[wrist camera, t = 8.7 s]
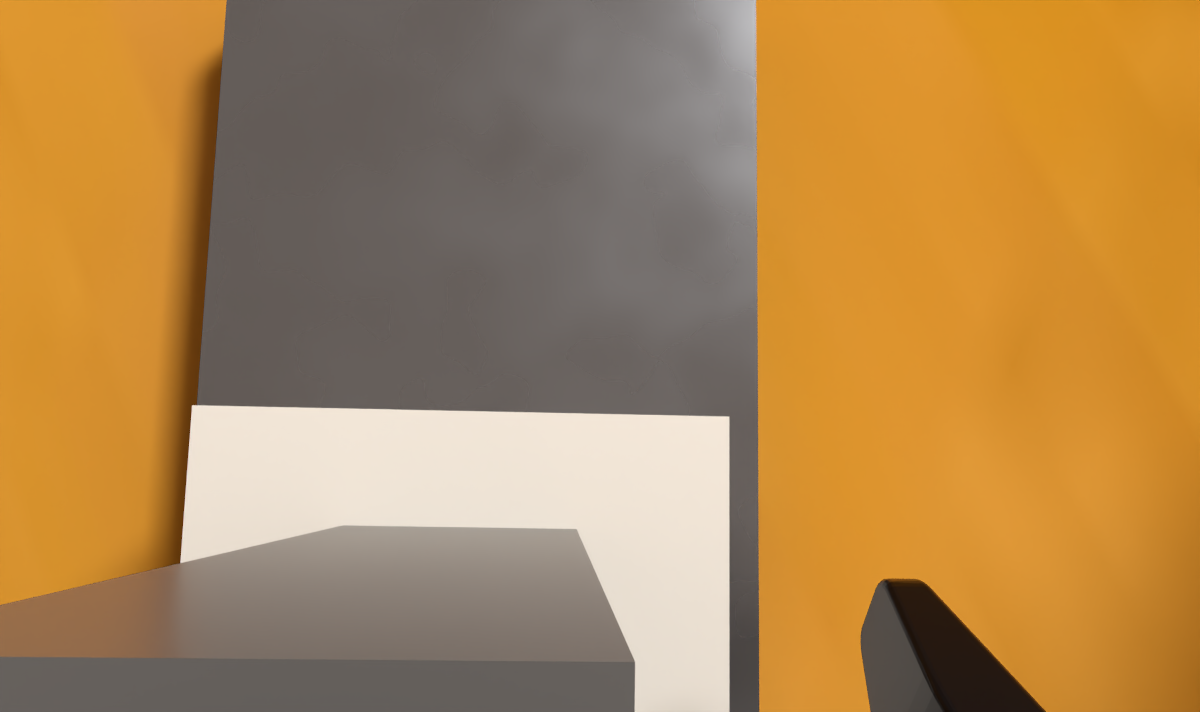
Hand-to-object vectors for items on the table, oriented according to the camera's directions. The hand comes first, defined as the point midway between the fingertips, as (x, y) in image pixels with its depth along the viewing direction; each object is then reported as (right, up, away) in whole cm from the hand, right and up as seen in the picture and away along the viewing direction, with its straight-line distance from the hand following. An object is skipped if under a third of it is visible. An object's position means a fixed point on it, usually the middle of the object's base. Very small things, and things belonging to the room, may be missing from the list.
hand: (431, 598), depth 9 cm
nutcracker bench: (0, -2, +7) cm, 7 cm away
